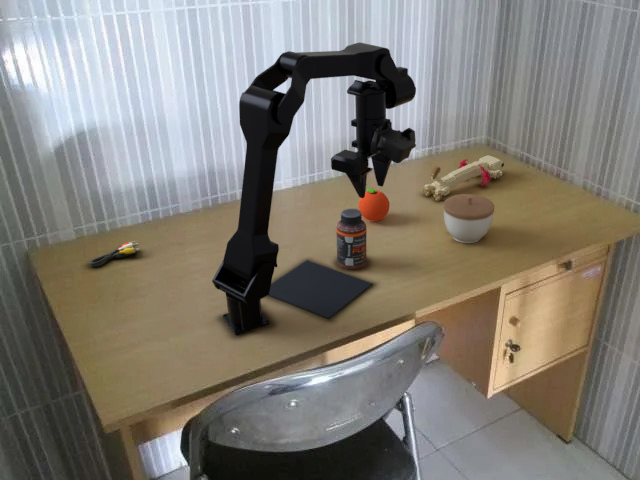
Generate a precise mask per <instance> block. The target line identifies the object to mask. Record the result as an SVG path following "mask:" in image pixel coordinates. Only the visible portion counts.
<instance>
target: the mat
mask: <svg viewBox="0 0 640 480" xmlns="http://www.w3.org/2000/svg"><path fill="white" fill-rule="evenodd" d="M371 286H373V283H372V282H369V281H367V280H364V279H361V278H359V277H356V276H353V275H351V274H347V273H344V272H341V271H338V270H335V269H333V268H331V267H327V266H325V265H321V264H319V263H317V262H313V261H310V260H305V261H303V262H302V263H301V264H299V265H297V266H296V267H294V268H293V269H292V270H290V271H289V272H287V273H285V274H284V275H283V276H281V277H280V278H278V279H276V280H275V281H274V282H271V287H270V292H269V295H267V296H268V297H271V298H273V299H276V300H279V301H282V302H284V303H286V304H289V305H291V306H294V307H296V308H299V309H301V310H304V311H306V312H308V313H311V314H314V315H317V316H320V317H322V318H324V319H327V320H330V319H331V318H332V317H333V316H335V315H336V314H337V313H339V312H340V311H341V310H342V309H344V308H345V307H347V305H349V304H350V303H351V302H353V301H354V300H355V299H356V298H358V297H359V296H360V295H362V294H363V293H364V292H365V291H366V290H368V289H369V288H370V287H371Z"/></svg>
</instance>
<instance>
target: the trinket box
mask: <svg viewBox="0 0 640 480" xmlns="http://www.w3.org/2000/svg"><path fill="white" fill-rule="evenodd" d="M494 212H495V204H494V203H493V201H492V200H490V199H489V198H487V197H485V196H482V195H479V194H471V193H470V194H469V193H461V194H455V195H452V196H449V197H447V198H446V199H445V200H444V201H443V219H444V220H443V221H444V226H445V228H446V230H447V233H448V234H449V235H450V236H451V237H452V238H453V240H454V241H456V242H458V243H461V244H474V243H477V242H479V241H481V239H482V238H483V237H485V236H486V235H487V233H488V232H489V230H490V228H491V226H492V224H493V223H492V222H493V217H494Z"/></svg>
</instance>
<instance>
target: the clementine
mask: <svg viewBox="0 0 640 480" xmlns="http://www.w3.org/2000/svg"><path fill="white" fill-rule="evenodd" d="M358 210H359V211H361V214H362V217H363V218H364V219H366V220H368V221H370V222H379V221H381V220H383V219H385V217H387V215H388V213H389V211H390V200H389V198H388V196H387V195H386V194H385V193H384V192H382V191H380V190H378V189H373V188H366V192H365V197H364V198H360V197H359V201H358Z"/></svg>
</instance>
